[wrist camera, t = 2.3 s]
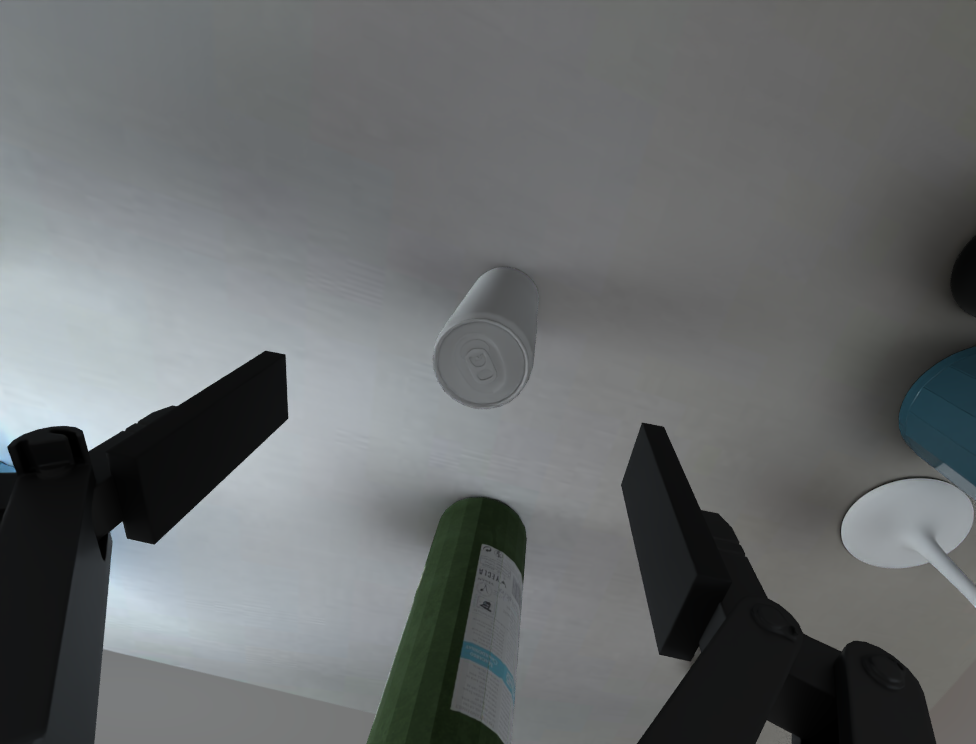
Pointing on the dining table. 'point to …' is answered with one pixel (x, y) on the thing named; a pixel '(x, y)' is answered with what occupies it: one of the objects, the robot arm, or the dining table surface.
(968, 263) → the supplement bottle
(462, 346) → the beverage can
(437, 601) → the wine bottle
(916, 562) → the wineglass
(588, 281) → the dining table surface
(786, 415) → the dining table surface
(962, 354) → the cup
